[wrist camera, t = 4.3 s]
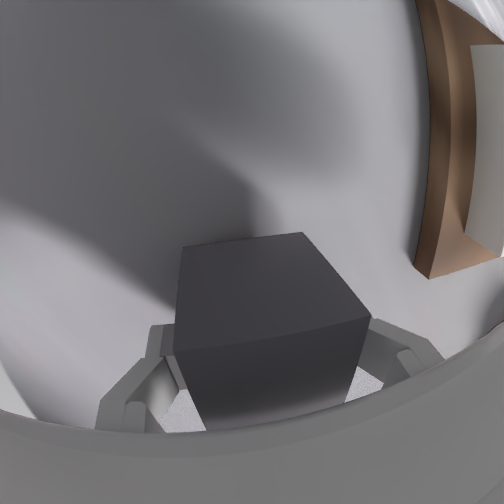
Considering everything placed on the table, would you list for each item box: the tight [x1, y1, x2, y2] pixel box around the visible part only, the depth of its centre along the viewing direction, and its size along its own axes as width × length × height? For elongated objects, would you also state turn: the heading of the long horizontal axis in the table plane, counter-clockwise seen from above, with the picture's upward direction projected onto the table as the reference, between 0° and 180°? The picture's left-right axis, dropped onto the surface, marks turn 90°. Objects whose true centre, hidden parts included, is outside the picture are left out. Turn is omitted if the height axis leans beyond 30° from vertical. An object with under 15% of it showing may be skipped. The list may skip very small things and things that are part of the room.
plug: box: [173, 232, 371, 431], centre depth 10 cm, size 7×4×6 cm, turn 4°
